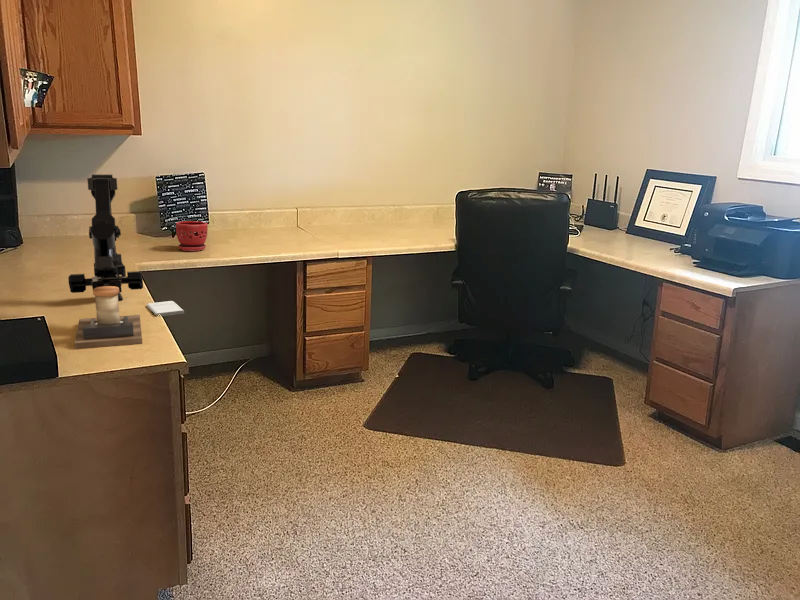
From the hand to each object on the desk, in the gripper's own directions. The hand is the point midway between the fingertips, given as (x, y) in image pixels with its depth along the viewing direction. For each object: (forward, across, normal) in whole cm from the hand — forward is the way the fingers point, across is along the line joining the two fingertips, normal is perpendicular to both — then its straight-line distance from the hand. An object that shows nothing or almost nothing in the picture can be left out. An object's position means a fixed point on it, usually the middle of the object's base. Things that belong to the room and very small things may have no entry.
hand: (108, 308), depth 186 cm
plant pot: (-75, +32, +85) cm, 118 cm away
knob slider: (+6, 0, +1) cm, 6 cm away
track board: (+6, 0, +4) cm, 7 cm away
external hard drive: (-8, +16, +19) cm, 26 cm away
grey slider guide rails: (+5, 0, +3) cm, 6 cm away
